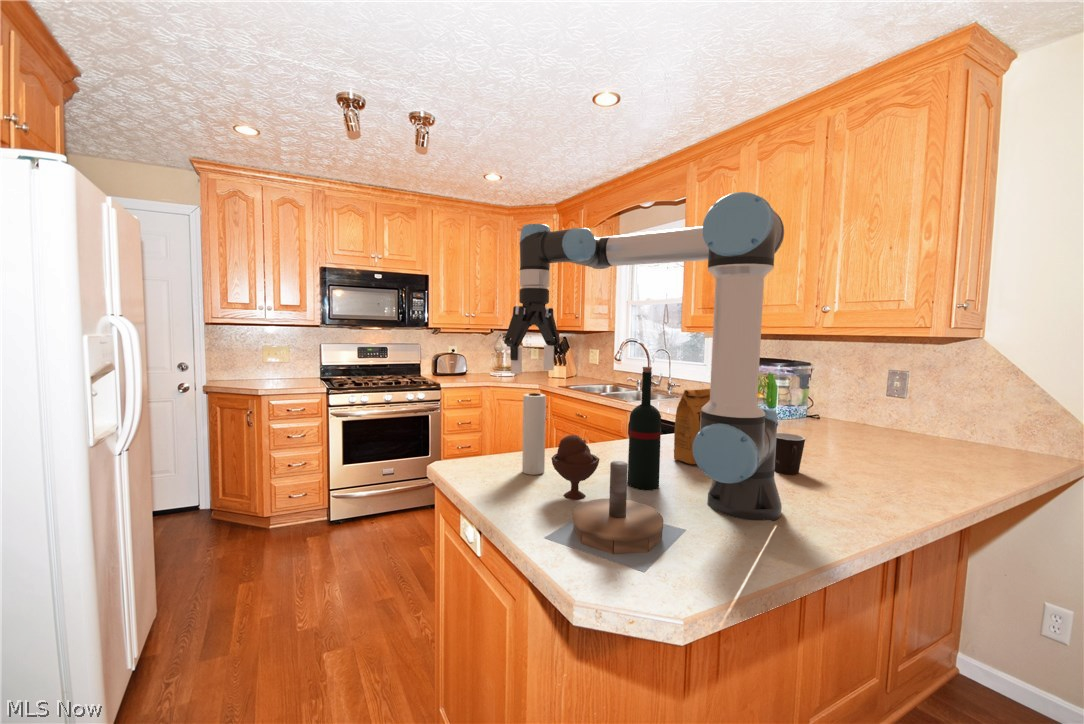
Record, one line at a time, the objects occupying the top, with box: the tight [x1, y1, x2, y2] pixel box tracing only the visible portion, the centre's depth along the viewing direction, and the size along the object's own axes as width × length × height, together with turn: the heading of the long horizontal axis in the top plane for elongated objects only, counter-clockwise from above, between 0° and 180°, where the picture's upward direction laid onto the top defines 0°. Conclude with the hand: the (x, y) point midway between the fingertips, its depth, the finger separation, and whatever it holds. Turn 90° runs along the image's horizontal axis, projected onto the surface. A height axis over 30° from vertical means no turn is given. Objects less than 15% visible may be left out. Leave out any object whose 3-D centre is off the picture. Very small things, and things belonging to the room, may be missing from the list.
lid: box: [572, 460, 664, 554], centre depth 90 cm, size 17×17×14 cm
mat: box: [543, 519, 687, 573], centre depth 90 cm, size 20×20×1 cm
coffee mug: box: [774, 432, 806, 476], centre depth 131 cm, size 12×9×10 cm
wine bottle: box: [627, 366, 662, 491], centre depth 119 cm, size 8×10×30 cm
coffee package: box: [673, 388, 710, 465], centre depth 140 cm, size 10×12×22 cm
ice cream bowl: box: [551, 434, 600, 501], centre depth 109 cm, size 11×11×15 cm
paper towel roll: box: [521, 392, 547, 476], centre depth 128 cm, size 7×6×21 cm
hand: (533, 371), depth 121 cm, fingers open, 13 cm apart
